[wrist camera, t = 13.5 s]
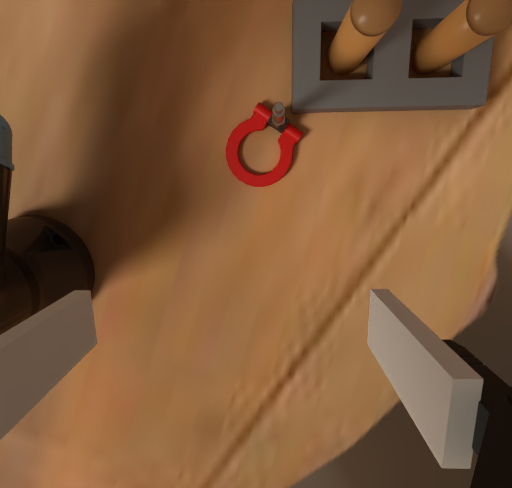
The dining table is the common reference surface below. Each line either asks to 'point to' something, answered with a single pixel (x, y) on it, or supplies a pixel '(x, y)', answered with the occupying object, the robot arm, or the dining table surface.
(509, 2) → the cylinder
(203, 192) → the dining table surface
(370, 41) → the peg
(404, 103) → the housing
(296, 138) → the tow hook
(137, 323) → the dining table surface
